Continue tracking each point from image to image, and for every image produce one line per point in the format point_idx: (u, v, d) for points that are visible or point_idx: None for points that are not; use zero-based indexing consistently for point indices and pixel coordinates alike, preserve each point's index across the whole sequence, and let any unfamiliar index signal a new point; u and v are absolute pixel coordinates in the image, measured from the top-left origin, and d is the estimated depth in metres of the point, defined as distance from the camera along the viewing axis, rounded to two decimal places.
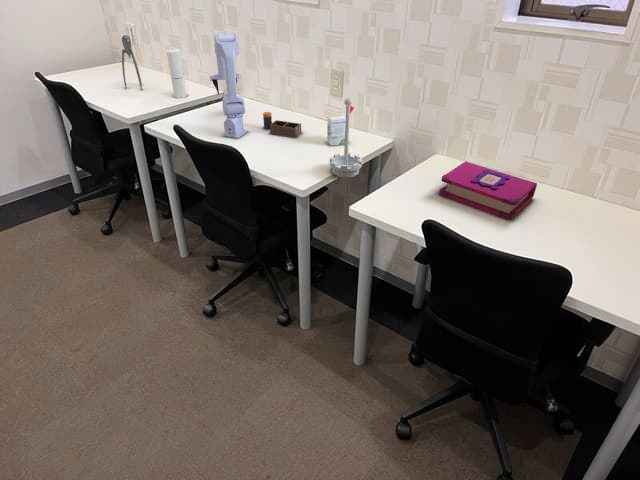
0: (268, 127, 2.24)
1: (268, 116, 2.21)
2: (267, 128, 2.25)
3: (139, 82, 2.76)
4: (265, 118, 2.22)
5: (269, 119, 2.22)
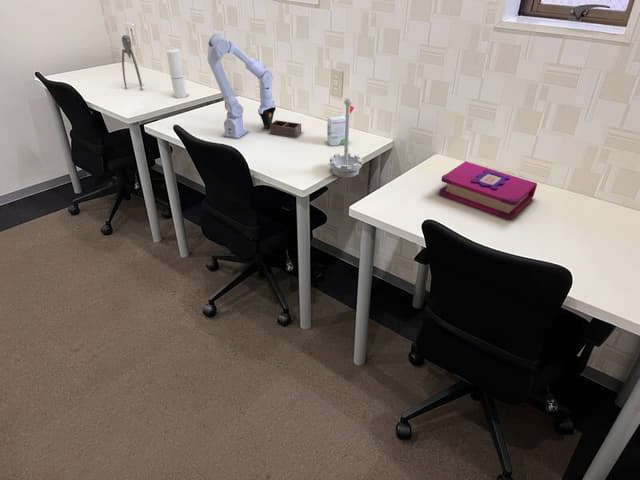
0: (268, 127, 2.24)
1: None
2: (267, 128, 2.25)
3: (139, 82, 2.76)
4: None
5: (269, 119, 2.22)
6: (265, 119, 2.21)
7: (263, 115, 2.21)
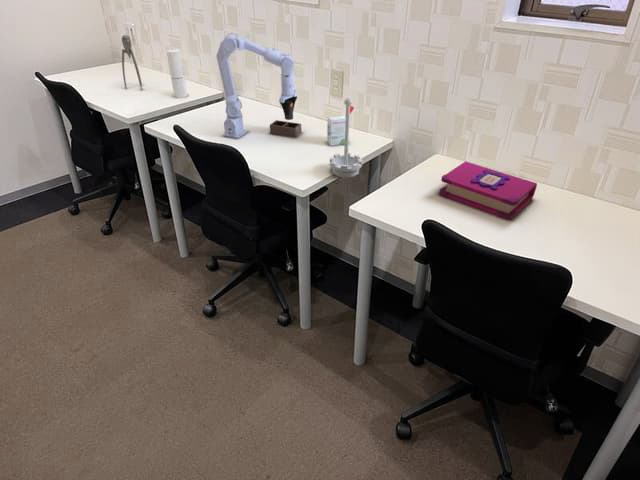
0: (289, 117, 2.14)
1: None
2: (288, 118, 2.15)
3: (139, 82, 2.76)
4: None
5: (290, 109, 2.12)
6: (286, 109, 2.11)
7: (284, 104, 2.11)
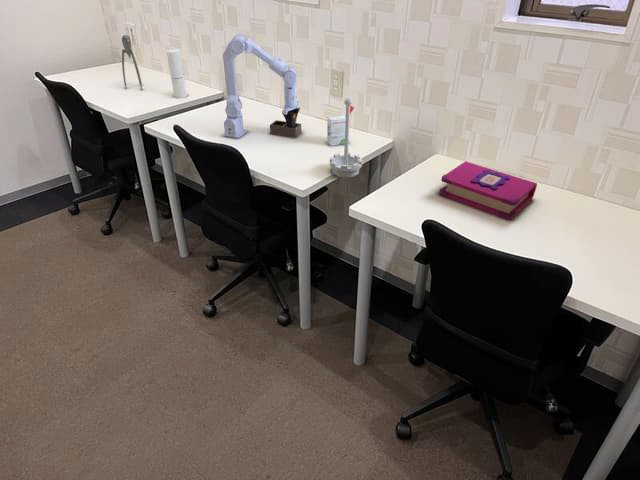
0: None
1: None
2: None
3: (139, 82, 2.76)
4: None
5: (293, 120, 2.15)
6: (289, 120, 2.14)
7: (287, 116, 2.13)
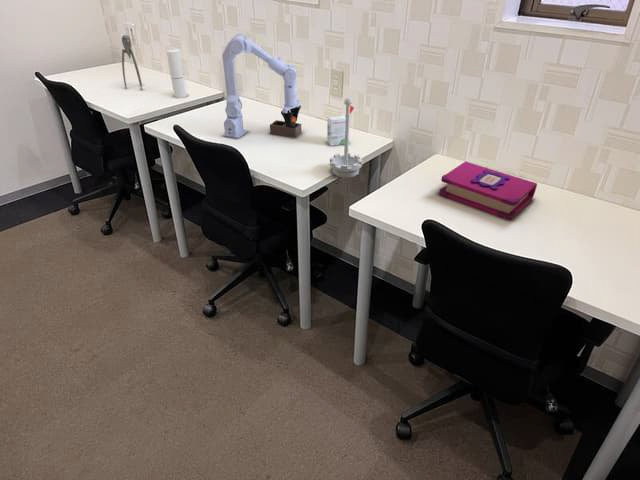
0: None
1: (292, 120, 2.15)
2: None
3: (139, 82, 2.76)
4: None
5: (293, 123, 2.16)
6: (288, 120, 2.12)
7: (286, 116, 2.11)
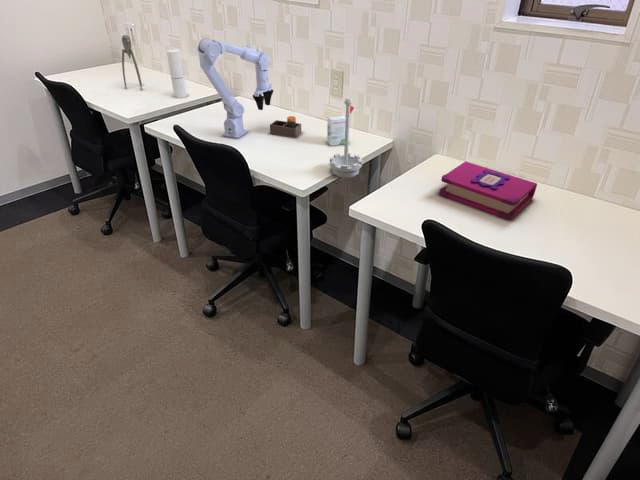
0: None
1: (292, 120, 2.15)
2: None
3: (139, 82, 2.76)
4: (289, 122, 2.15)
5: (293, 123, 2.16)
6: (260, 103, 2.17)
7: (258, 99, 2.16)
